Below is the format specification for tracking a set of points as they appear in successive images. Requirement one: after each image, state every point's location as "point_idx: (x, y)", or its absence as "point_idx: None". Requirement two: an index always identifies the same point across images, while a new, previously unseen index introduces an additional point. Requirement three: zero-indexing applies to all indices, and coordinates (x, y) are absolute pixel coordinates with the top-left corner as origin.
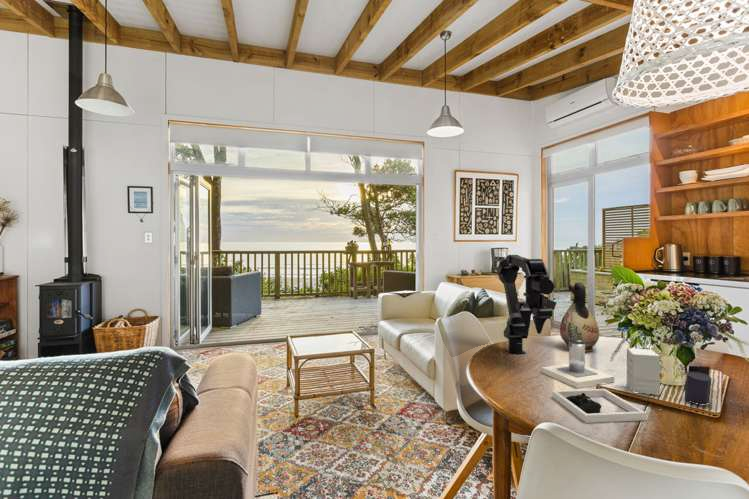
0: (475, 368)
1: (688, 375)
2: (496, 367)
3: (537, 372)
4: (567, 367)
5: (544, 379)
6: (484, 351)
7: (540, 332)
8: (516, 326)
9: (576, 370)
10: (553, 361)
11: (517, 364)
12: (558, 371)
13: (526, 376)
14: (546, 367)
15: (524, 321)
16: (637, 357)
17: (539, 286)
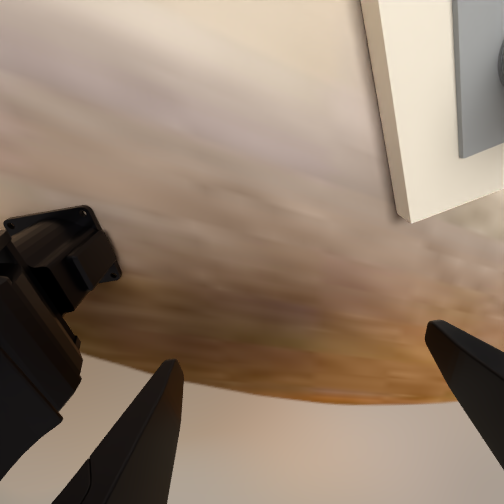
0: (319, 396)
1: None
2: (313, 349)
3: (388, 230)
4: (474, 84)
5: (473, 228)
6: (110, 360)
7: (452, 330)
8: (48, 401)
9: None
10: (214, 79)
11: (278, 281)
12: (491, 162)
13: (422, 282)
14: (419, 203)
15: (171, 473)
16: None
17: None
